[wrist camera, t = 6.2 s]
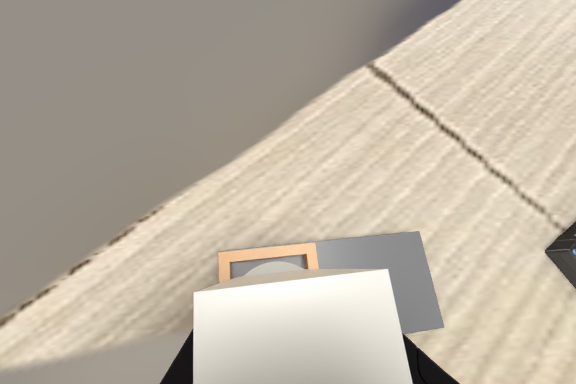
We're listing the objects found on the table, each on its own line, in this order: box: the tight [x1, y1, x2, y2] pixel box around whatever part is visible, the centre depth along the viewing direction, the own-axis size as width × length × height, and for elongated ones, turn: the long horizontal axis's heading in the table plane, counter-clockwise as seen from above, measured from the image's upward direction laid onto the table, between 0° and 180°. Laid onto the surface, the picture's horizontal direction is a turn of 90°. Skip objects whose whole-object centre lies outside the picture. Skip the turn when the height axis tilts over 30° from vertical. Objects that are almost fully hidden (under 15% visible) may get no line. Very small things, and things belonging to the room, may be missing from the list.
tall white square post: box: [193, 261, 413, 384], centre depth 9 cm, size 5×5×10 cm
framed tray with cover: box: [218, 231, 444, 334], centre depth 20 cm, size 18×8×4 cm, turn 96°
